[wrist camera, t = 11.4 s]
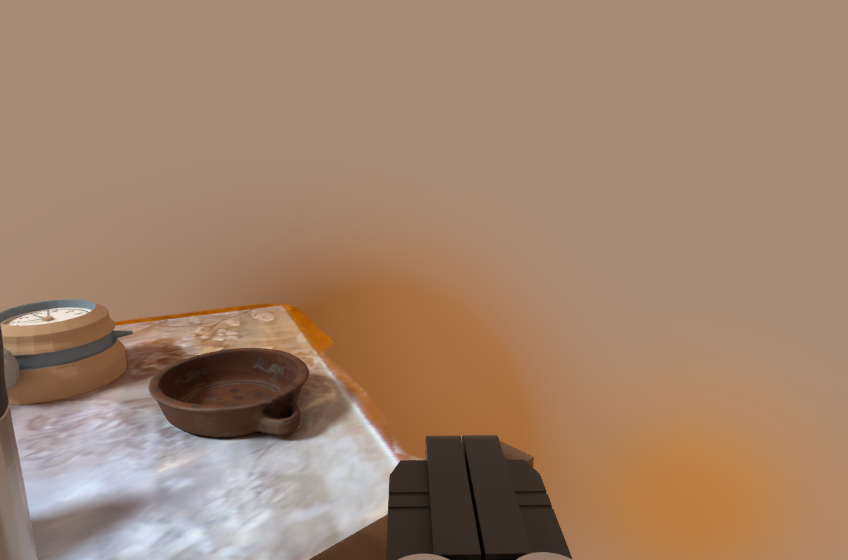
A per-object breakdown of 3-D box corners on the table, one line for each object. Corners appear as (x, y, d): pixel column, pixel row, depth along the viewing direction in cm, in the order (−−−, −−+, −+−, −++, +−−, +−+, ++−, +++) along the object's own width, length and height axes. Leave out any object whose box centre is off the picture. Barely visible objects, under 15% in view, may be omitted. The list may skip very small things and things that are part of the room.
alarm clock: (142, 310, 78) (-81, 359, 61) (150, 374, 80) (-64, 439, 63) (91, 287, 89) (-112, 323, 72) (99, 344, 91) (-96, 393, 74)
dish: (234, 367, 83) (231, 334, 82) (352, 408, 71) (351, 370, 70) (112, 414, 69) (107, 375, 68) (234, 476, 57) (230, 429, 56)
